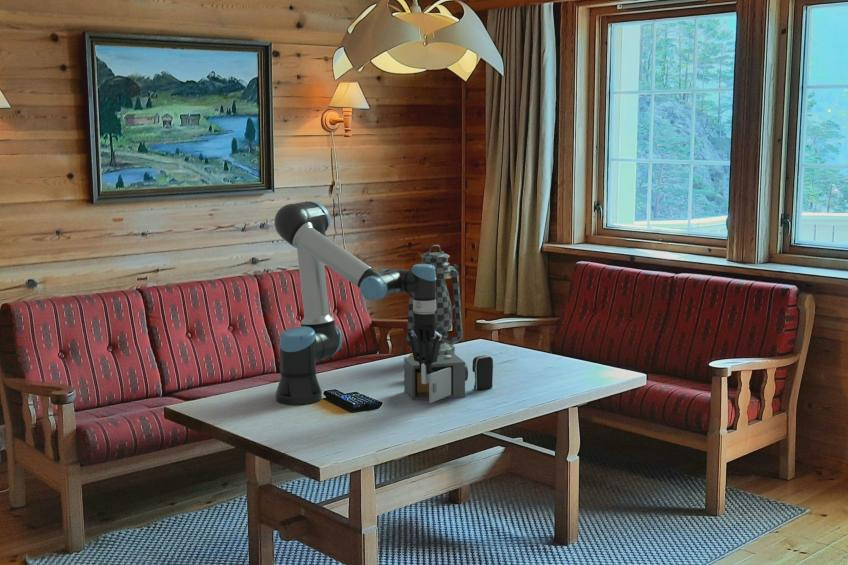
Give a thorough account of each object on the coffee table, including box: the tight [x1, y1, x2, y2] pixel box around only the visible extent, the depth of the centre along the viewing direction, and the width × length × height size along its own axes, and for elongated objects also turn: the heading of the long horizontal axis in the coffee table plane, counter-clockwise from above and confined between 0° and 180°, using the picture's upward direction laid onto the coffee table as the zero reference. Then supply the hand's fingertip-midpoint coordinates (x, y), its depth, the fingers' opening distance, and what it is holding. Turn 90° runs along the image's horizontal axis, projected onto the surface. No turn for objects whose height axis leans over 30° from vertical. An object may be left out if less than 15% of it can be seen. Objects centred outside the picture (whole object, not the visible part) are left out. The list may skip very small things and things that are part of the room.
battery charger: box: [471, 354, 494, 391], centre depth 351 cm, size 7×4×11 cm, turn 125°
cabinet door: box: [428, 367, 451, 404], centre depth 333 cm, size 12×1×9 cm, turn 145°
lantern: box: [406, 244, 464, 355], centre depth 387 cm, size 24×18×45 cm
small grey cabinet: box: [403, 353, 469, 402], centre depth 343 cm, size 20×12×13 cm, turn 105°
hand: (425, 383), depth 332 cm, fingers closed
